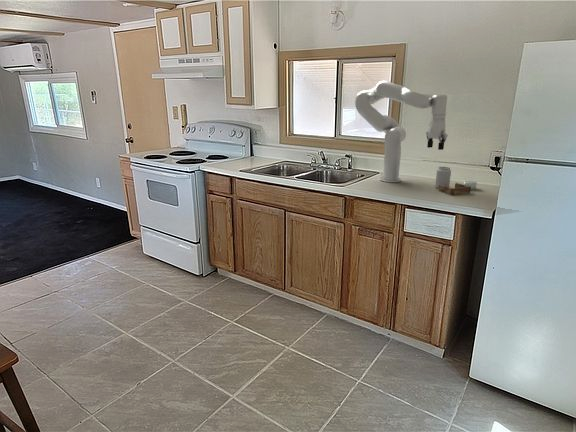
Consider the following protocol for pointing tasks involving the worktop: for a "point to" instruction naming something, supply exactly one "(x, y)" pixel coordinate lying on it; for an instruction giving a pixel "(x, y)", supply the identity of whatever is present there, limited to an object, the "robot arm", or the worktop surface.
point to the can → (443, 176)
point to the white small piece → (470, 184)
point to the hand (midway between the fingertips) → (435, 148)
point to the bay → (455, 189)
